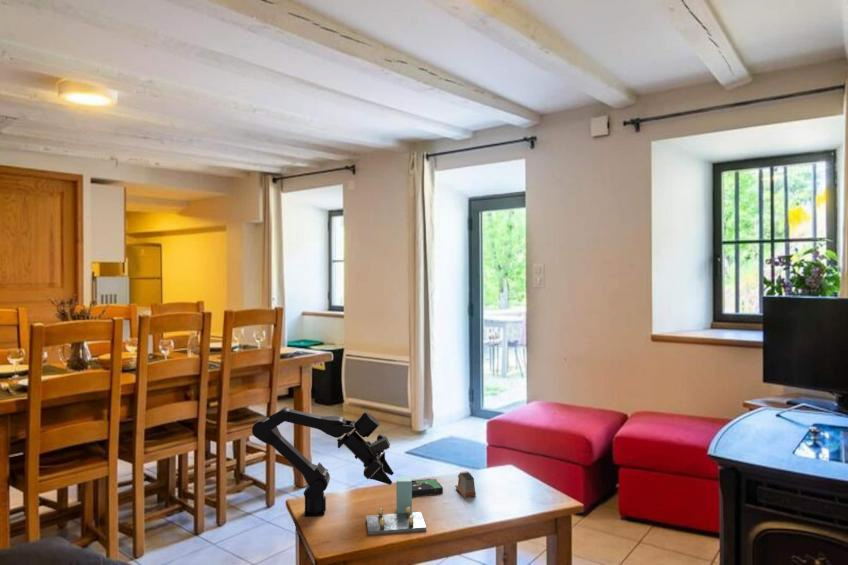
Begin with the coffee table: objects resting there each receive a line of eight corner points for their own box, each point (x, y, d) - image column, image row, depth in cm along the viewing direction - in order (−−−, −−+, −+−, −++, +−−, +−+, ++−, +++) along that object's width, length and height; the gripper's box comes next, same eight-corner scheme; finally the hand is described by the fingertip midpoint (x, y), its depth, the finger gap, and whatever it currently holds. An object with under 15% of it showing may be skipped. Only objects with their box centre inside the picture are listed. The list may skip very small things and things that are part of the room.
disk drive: (404, 499, 207) (443, 494, 211) (403, 491, 207) (443, 487, 211) (397, 489, 217) (435, 484, 221) (397, 481, 217) (435, 477, 221)
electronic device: (465, 487, 216) (465, 467, 216) (476, 496, 207) (476, 475, 207) (454, 489, 215) (454, 469, 215) (465, 498, 206) (465, 477, 206)
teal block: (396, 514, 192) (396, 481, 192) (397, 508, 197) (396, 476, 197) (411, 514, 192) (411, 481, 192) (411, 508, 197) (411, 476, 197)
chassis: (368, 535, 176) (368, 522, 176) (366, 519, 188) (366, 507, 188) (426, 531, 179) (426, 518, 179) (420, 515, 191) (420, 503, 191)
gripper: (373, 437, 185) (408, 470, 185) (377, 422, 204) (409, 453, 204) (349, 462, 185) (383, 495, 185) (355, 445, 204) (387, 476, 204)
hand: (392, 478), depth 195 cm, fingers open, 9 cm apart
